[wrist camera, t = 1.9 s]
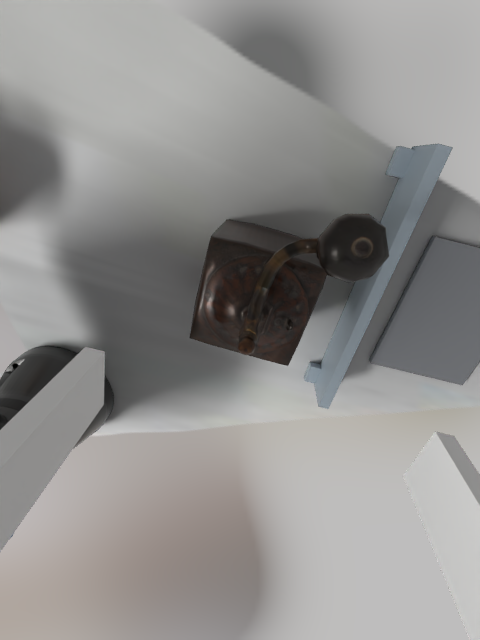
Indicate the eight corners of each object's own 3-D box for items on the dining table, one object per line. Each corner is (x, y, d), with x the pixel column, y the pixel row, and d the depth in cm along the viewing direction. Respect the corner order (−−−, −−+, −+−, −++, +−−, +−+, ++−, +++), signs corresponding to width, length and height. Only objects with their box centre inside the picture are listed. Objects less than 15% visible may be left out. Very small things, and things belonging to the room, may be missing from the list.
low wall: (303, 378, 42) (307, 403, 37) (397, 143, 29) (420, 139, 24) (332, 385, 42) (339, 411, 37) (439, 153, 29) (469, 151, 24)
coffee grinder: (291, 326, 38) (306, 443, 22) (205, 302, 38) (156, 403, 22) (342, 195, 31) (416, 229, 15) (236, 164, 31) (197, 166, 15)
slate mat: (369, 360, 39) (370, 363, 39) (432, 235, 32) (435, 237, 32) (459, 382, 40) (462, 385, 39) (543, 263, 32) (547, 265, 32)
